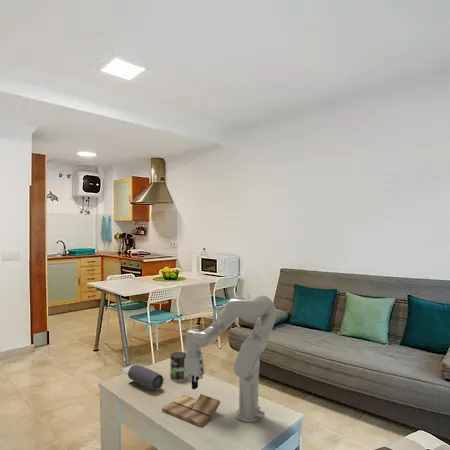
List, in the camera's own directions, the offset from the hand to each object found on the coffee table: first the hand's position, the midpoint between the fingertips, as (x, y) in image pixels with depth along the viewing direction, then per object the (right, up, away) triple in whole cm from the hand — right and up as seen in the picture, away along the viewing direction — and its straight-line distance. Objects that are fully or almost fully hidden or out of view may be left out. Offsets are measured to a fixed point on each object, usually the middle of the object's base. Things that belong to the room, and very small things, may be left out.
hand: (194, 388), depth 184 cm
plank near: (+7, -6, -8) cm, 12 cm away
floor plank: (-3, -8, -11) cm, 14 cm away
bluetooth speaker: (-31, -9, +21) cm, 38 cm away
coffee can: (-13, -9, +33) cm, 36 cm away
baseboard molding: (-37, -9, +36) cm, 52 cm away
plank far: (-4, -8, 0) cm, 9 cm away
